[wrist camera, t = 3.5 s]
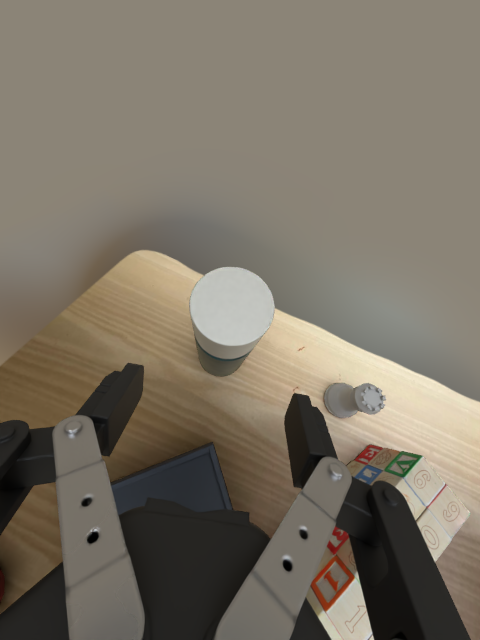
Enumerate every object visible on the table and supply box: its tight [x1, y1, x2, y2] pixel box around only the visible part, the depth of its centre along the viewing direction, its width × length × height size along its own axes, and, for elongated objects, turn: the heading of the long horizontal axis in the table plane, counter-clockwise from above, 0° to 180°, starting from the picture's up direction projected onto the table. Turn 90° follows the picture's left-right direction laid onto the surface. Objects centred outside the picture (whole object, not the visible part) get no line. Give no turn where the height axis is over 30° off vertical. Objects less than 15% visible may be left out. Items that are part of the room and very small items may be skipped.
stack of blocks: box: [306, 445, 470, 640], centre depth 24 cm, size 21×6×12 cm, turn 126°
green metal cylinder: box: [194, 334, 252, 376], centre depth 29 cm, size 6×6×13 cm
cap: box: [189, 267, 274, 359], centre depth 21 cm, size 6×6×5 cm
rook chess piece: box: [324, 383, 386, 418], centre depth 31 cm, size 4×4×8 cm
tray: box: [110, 442, 233, 515], centre depth 27 cm, size 15×12×2 cm
